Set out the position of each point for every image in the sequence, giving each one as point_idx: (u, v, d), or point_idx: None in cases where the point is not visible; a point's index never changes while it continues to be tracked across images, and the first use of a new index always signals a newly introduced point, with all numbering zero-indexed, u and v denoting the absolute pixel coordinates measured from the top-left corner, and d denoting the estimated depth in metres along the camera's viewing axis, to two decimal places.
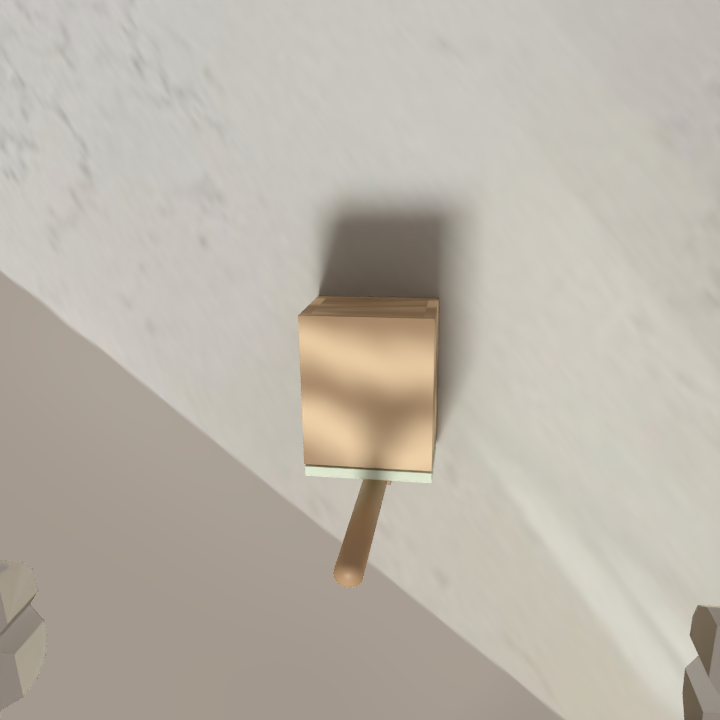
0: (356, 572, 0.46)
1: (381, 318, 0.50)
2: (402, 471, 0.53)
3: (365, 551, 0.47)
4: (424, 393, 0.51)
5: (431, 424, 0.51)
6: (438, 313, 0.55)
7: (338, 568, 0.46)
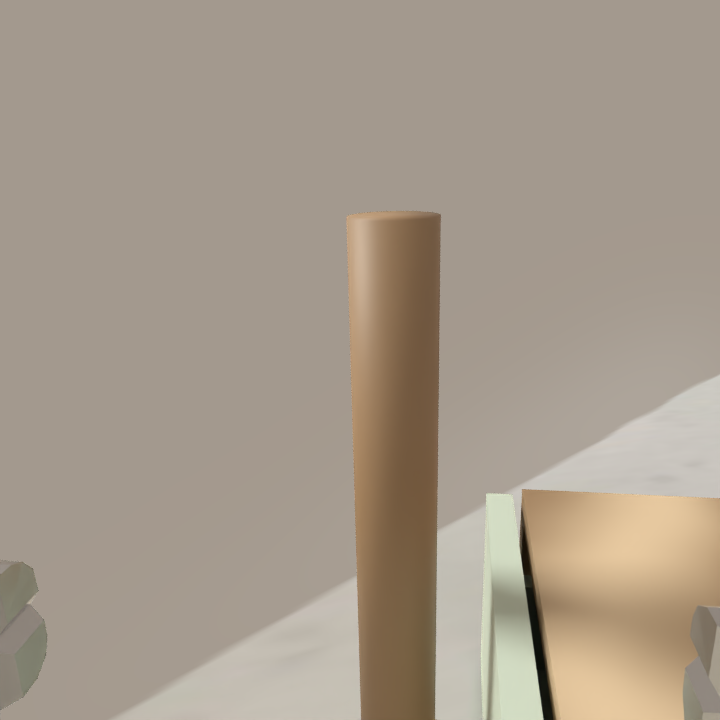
0: (402, 218, 0.14)
1: None
2: (536, 678, 0.14)
3: (415, 320, 0.14)
4: None
5: None
6: None
7: (414, 212, 0.15)
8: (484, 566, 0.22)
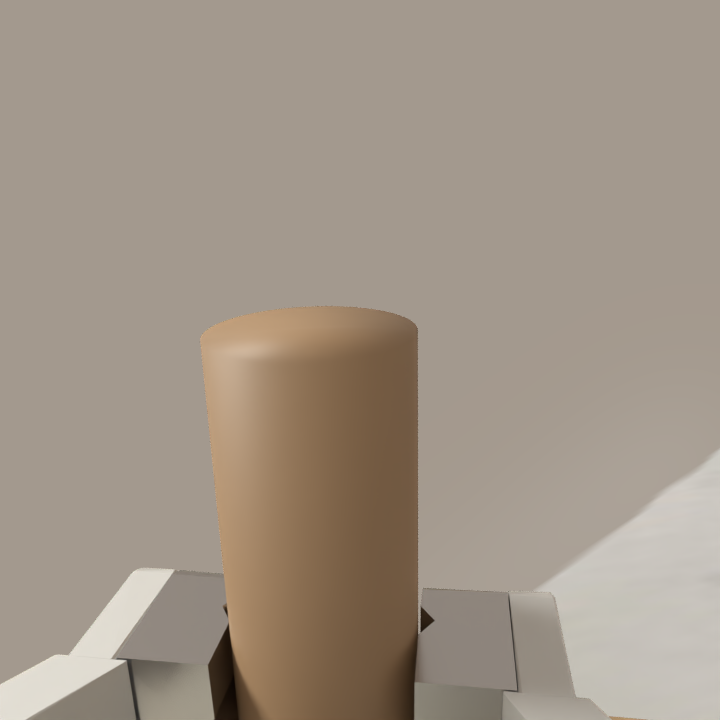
0: (324, 349, 0.06)
1: None
2: None
3: (358, 582, 0.06)
4: None
5: None
6: None
7: (362, 315, 0.07)
8: None
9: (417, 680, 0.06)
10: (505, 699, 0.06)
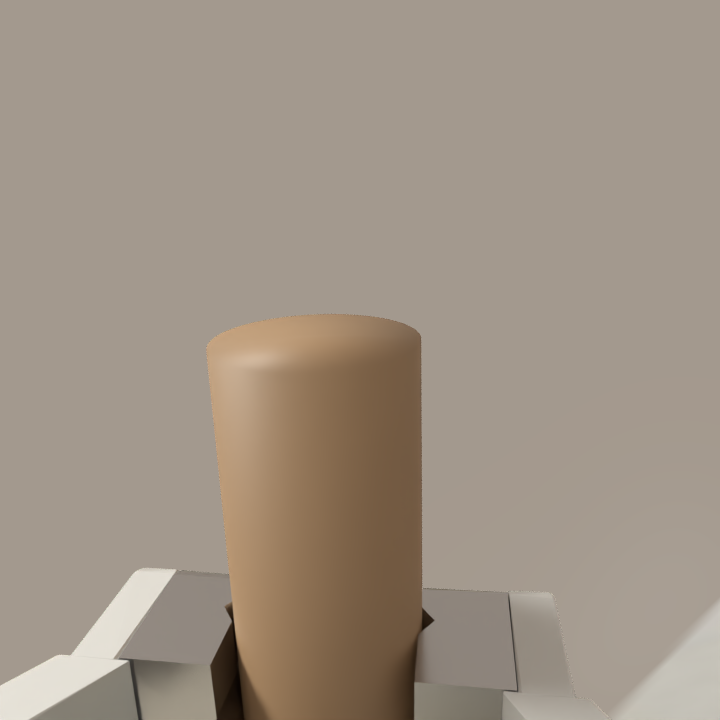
0: (329, 357, 0.06)
1: None
2: None
3: (364, 587, 0.06)
4: None
5: None
6: None
7: (366, 322, 0.07)
8: None
9: (416, 681, 0.06)
10: (504, 699, 0.06)
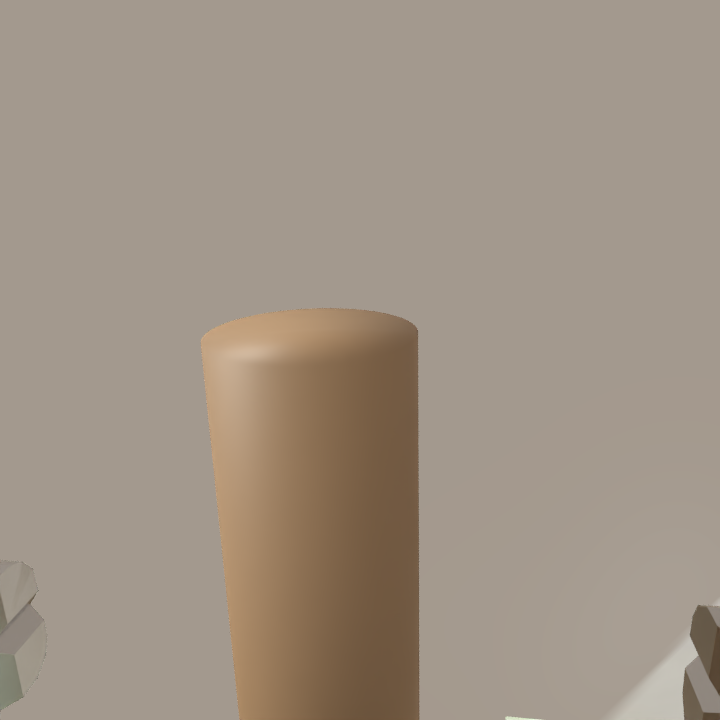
0: (324, 351, 0.06)
1: None
2: None
3: (358, 584, 0.06)
4: None
5: None
6: None
7: (363, 317, 0.07)
8: None
9: None
10: None
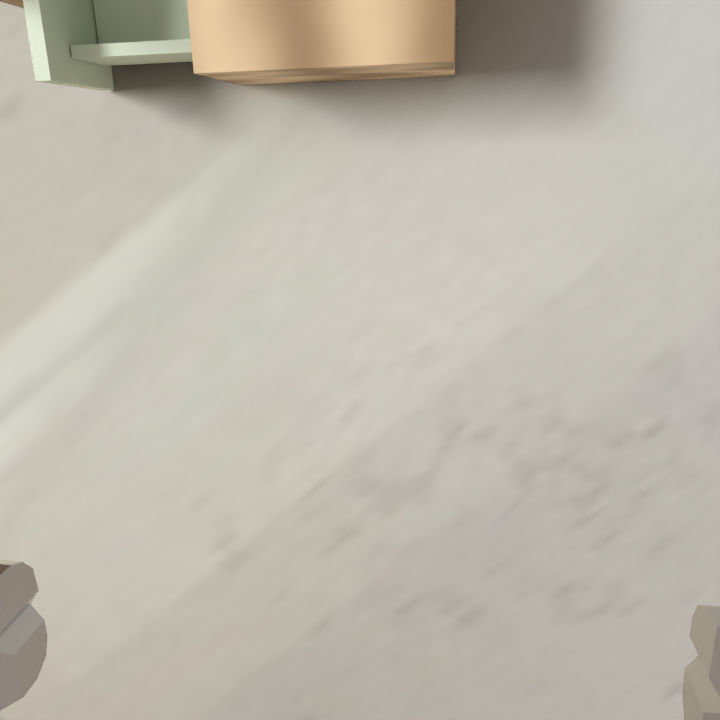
0: None
1: None
2: (44, 29, 0.33)
3: None
4: (325, 52, 0.31)
5: (274, 67, 0.31)
6: (433, 75, 0.36)
7: None
8: None
9: None
10: None
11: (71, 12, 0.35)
